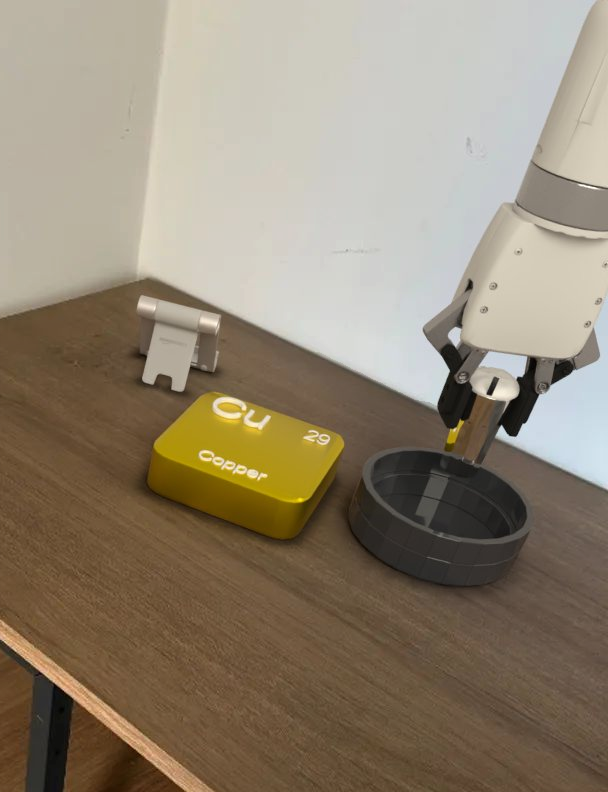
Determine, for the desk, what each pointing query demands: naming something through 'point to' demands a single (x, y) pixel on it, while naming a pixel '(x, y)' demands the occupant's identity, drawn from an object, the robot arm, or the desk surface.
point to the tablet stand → (176, 340)
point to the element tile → (245, 464)
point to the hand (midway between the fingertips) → (477, 422)
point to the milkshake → (479, 421)
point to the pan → (439, 518)
